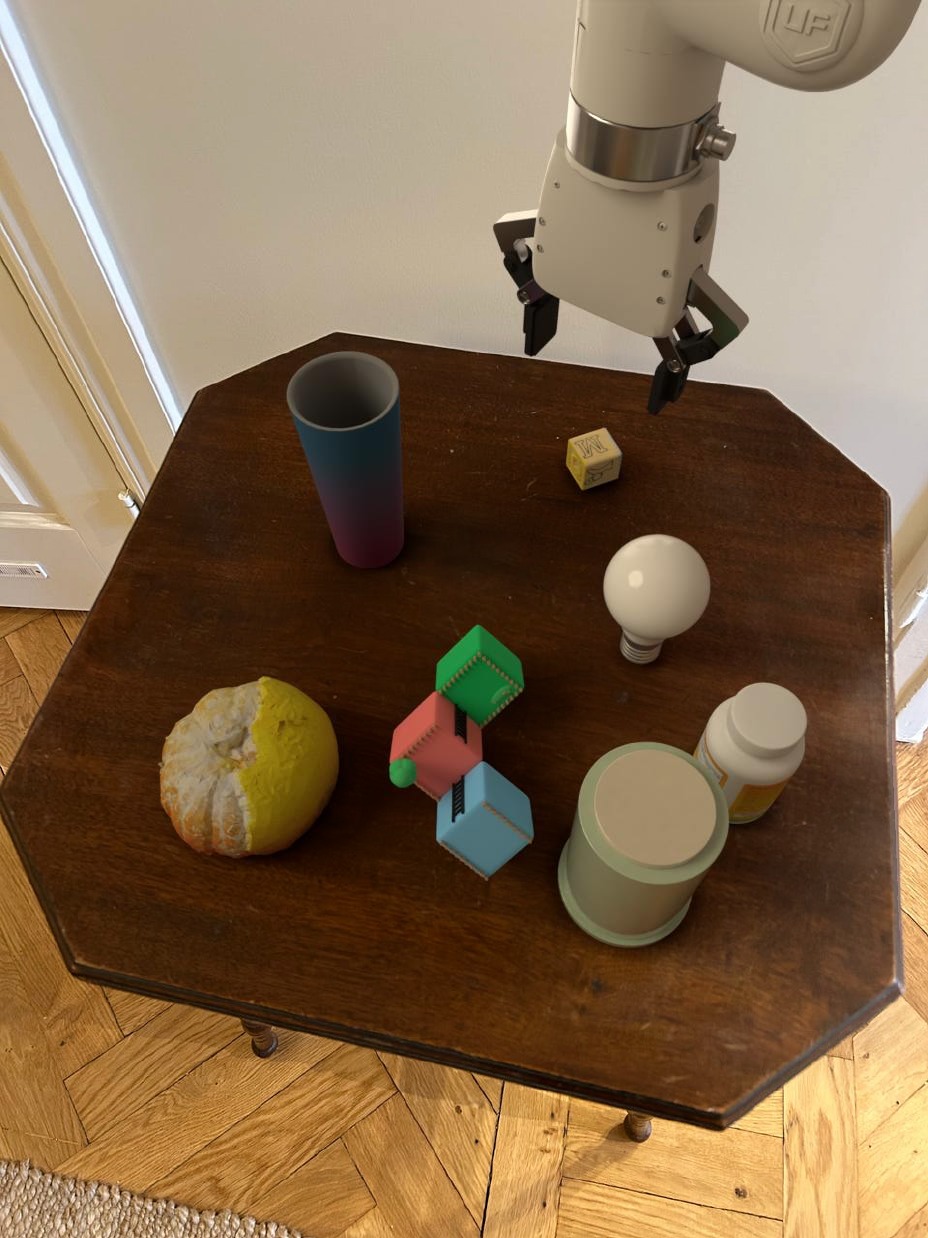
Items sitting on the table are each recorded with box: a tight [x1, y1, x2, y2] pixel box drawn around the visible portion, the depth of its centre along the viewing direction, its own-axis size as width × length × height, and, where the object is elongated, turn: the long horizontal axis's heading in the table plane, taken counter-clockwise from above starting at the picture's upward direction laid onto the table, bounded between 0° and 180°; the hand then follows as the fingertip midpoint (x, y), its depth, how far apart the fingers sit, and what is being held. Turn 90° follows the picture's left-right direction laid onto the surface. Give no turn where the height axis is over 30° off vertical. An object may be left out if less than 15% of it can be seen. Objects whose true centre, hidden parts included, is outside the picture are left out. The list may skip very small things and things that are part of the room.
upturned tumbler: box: [557, 741, 730, 949], centre depth 48 cm, size 8×8×12 cm
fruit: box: [157, 675, 340, 859], centre depth 55 cm, size 11×10×8 cm
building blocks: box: [388, 624, 535, 882], centre depth 54 cm, size 8×8×12 cm
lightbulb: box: [602, 533, 712, 665], centre depth 57 cm, size 6×6×11 cm
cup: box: [286, 351, 405, 569], centre depth 61 cm, size 7×7×15 cm
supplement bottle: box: [692, 682, 808, 825], centre depth 52 cm, size 5×5×10 cm
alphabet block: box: [565, 427, 623, 491], centre depth 69 cm, size 3×3×3 cm
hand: (599, 372), depth 62 cm, fingers open, 9 cm apart
